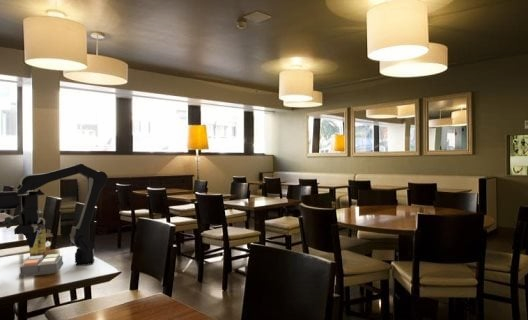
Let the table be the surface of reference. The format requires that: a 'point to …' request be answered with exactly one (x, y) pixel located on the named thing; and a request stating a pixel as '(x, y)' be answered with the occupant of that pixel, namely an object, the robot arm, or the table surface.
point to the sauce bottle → (39, 241)
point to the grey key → (36, 257)
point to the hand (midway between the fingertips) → (31, 247)
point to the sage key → (53, 256)
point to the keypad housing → (41, 268)
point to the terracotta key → (31, 262)
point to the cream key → (49, 261)
